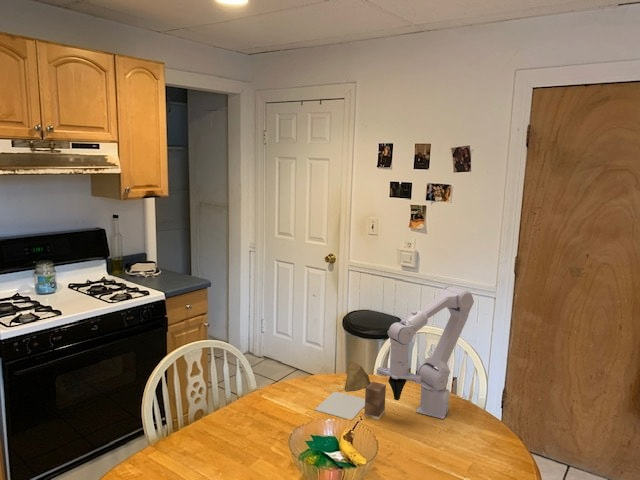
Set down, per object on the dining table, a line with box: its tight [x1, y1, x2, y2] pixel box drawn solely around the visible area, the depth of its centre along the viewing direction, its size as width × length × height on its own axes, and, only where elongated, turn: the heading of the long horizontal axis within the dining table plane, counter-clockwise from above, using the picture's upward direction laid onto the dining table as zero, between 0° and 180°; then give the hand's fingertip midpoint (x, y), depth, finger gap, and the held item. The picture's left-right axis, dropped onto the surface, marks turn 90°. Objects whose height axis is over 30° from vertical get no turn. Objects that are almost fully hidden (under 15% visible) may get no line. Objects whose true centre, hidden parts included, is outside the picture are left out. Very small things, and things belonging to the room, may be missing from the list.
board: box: [313, 390, 365, 420], centre depth 169 cm, size 14×16×1 cm
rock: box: [344, 361, 372, 392], centre depth 183 cm, size 11×9×10 cm
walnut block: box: [364, 381, 387, 421], centre depth 163 cm, size 5×6×10 cm
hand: (397, 398), depth 159 cm, fingers closed
